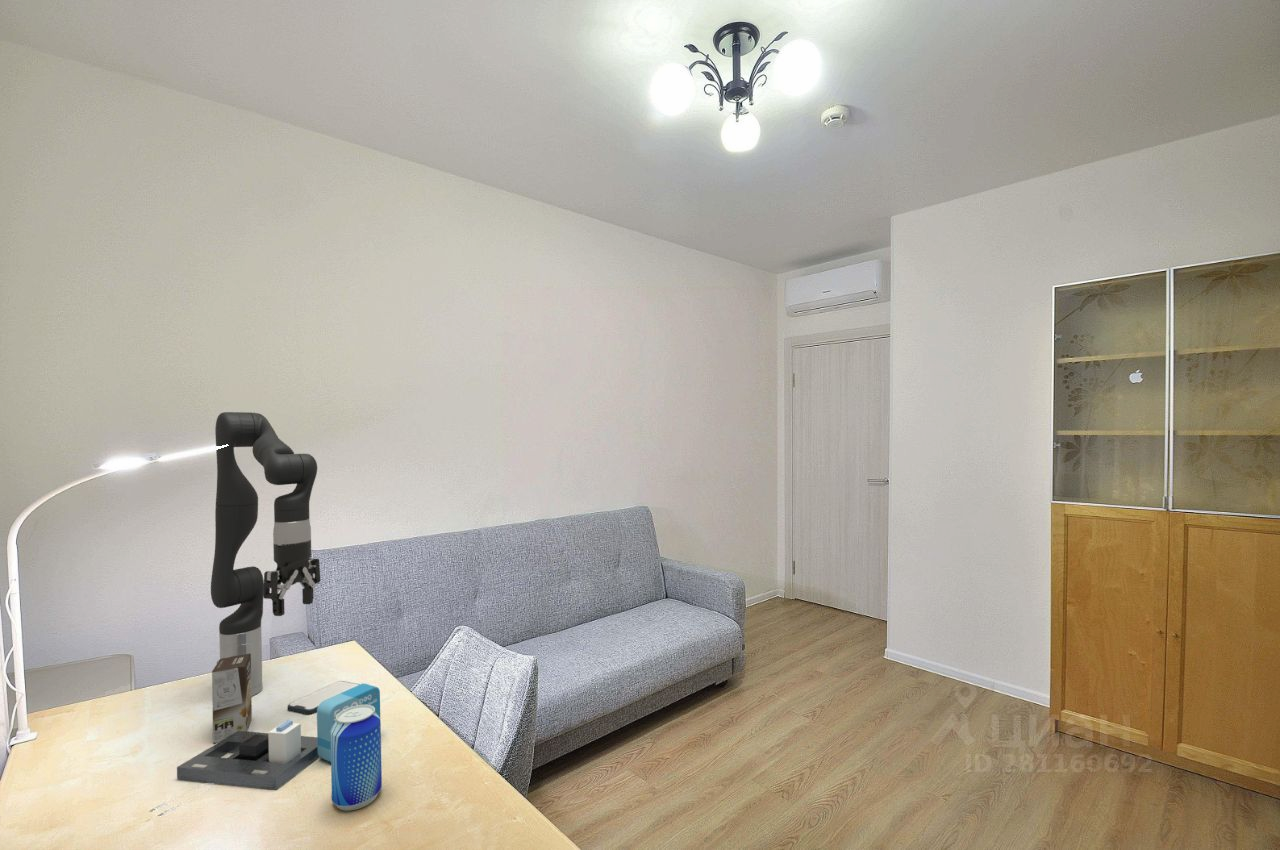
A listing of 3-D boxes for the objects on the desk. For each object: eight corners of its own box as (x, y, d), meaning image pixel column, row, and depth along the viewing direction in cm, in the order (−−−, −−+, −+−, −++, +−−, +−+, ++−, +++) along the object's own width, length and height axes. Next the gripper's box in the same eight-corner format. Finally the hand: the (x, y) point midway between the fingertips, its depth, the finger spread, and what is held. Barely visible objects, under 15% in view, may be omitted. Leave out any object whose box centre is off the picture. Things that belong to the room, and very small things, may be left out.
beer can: (369, 779, 112) (367, 698, 113) (390, 795, 107) (388, 710, 107) (324, 801, 106) (322, 715, 106) (344, 820, 101) (342, 729, 101)
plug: (269, 771, 116) (268, 728, 116) (284, 760, 120) (283, 718, 120) (286, 773, 115) (285, 729, 115) (301, 761, 119) (300, 719, 119)
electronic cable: (148, 812, 105) (148, 810, 105) (208, 782, 113) (208, 779, 113) (159, 818, 103) (159, 816, 103) (219, 787, 112) (219, 784, 112)
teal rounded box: (330, 766, 117) (329, 708, 117) (317, 760, 119) (316, 703, 120) (381, 738, 128) (380, 684, 128) (368, 733, 130) (367, 680, 130)
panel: (177, 779, 114) (176, 754, 114) (238, 741, 128) (238, 719, 128) (276, 790, 110) (276, 764, 110) (328, 749, 124) (328, 726, 124)
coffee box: (246, 736, 130) (245, 665, 130) (212, 744, 127) (211, 672, 127) (252, 718, 138) (251, 652, 138) (220, 725, 135) (219, 657, 135)
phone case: (339, 685, 157) (284, 711, 142) (339, 679, 157) (284, 705, 142) (363, 690, 154) (310, 717, 139) (363, 684, 154) (310, 710, 139)
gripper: (301, 534, 140) (303, 600, 140) (252, 545, 126) (253, 619, 126) (328, 534, 139) (330, 600, 138) (282, 546, 125) (283, 620, 124)
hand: (293, 609), depth 132 cm, fingers open, 8 cm apart
